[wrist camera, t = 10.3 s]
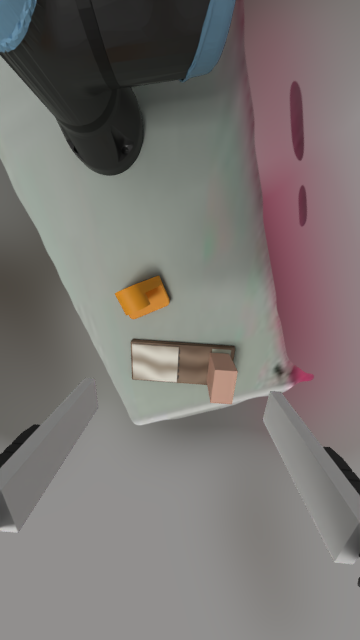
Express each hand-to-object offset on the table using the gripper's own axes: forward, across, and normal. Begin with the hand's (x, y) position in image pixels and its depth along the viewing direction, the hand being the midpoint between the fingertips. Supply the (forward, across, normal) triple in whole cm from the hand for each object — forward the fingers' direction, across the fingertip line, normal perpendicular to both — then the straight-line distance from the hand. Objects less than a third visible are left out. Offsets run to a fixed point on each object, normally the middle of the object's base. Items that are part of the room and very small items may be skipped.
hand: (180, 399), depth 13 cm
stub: (+30, +10, -16) cm, 35 cm away
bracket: (+32, -10, +2) cm, 34 cm away
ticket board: (+32, 0, -16) cm, 36 cm away
